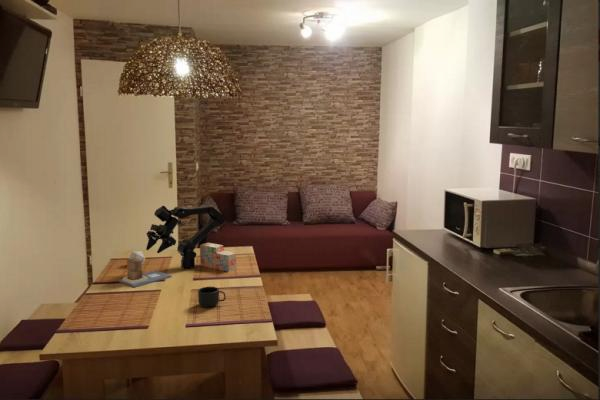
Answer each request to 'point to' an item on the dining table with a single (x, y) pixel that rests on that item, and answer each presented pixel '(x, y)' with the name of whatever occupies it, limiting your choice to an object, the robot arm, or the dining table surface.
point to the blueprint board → (145, 279)
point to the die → (137, 255)
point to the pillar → (134, 269)
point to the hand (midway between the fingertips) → (152, 251)
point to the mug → (209, 296)
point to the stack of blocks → (217, 257)
